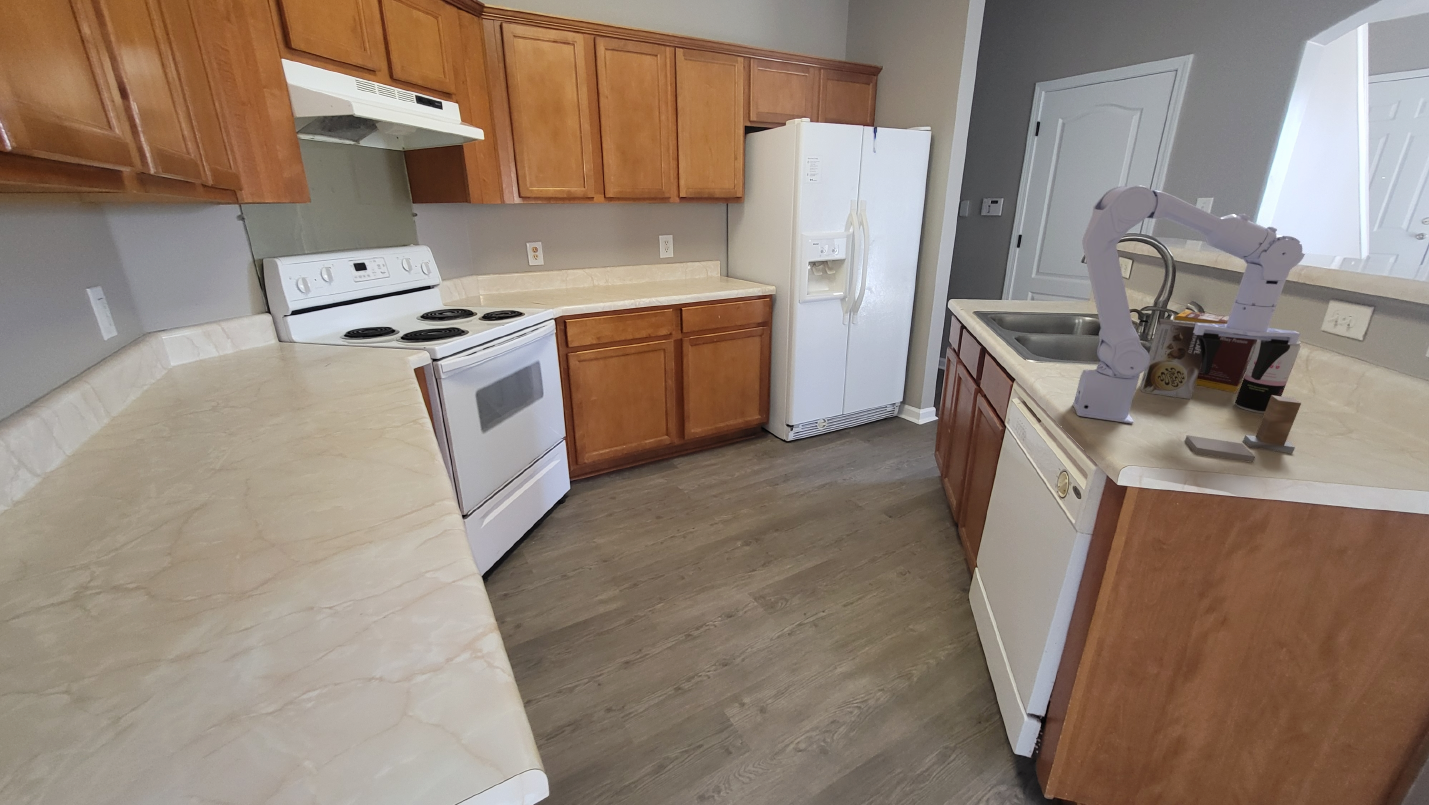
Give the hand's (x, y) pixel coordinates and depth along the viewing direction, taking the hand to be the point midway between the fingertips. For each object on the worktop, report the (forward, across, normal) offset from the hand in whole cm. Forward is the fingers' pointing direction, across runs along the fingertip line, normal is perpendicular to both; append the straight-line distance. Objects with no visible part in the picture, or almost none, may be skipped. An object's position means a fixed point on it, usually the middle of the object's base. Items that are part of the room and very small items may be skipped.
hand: (1229, 375), depth 108 cm
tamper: (+10, +6, -8) cm, 14 cm away
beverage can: (+11, +12, +17) cm, 23 cm away
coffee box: (+11, -3, +21) cm, 24 cm away
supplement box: (+11, +7, +36) cm, 38 cm away
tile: (+10, -3, -11) cm, 15 cm away
